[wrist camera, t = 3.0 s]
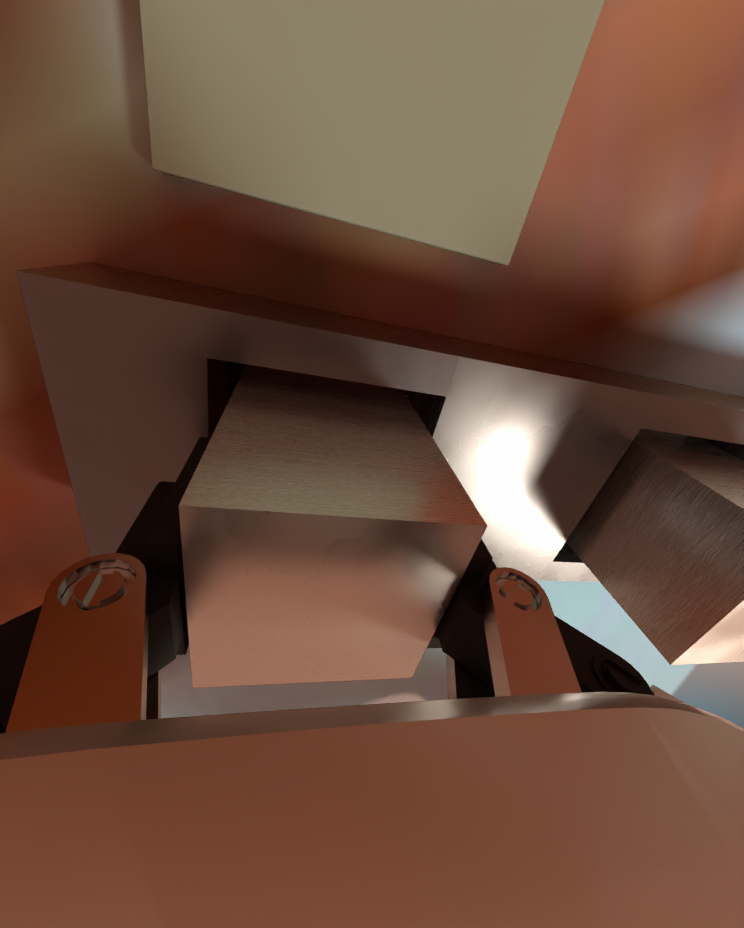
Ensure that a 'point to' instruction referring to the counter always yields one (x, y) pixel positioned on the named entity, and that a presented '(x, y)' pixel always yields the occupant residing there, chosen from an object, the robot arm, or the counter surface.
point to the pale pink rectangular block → (319, 535)
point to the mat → (368, 107)
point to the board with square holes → (346, 358)
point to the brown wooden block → (672, 545)
